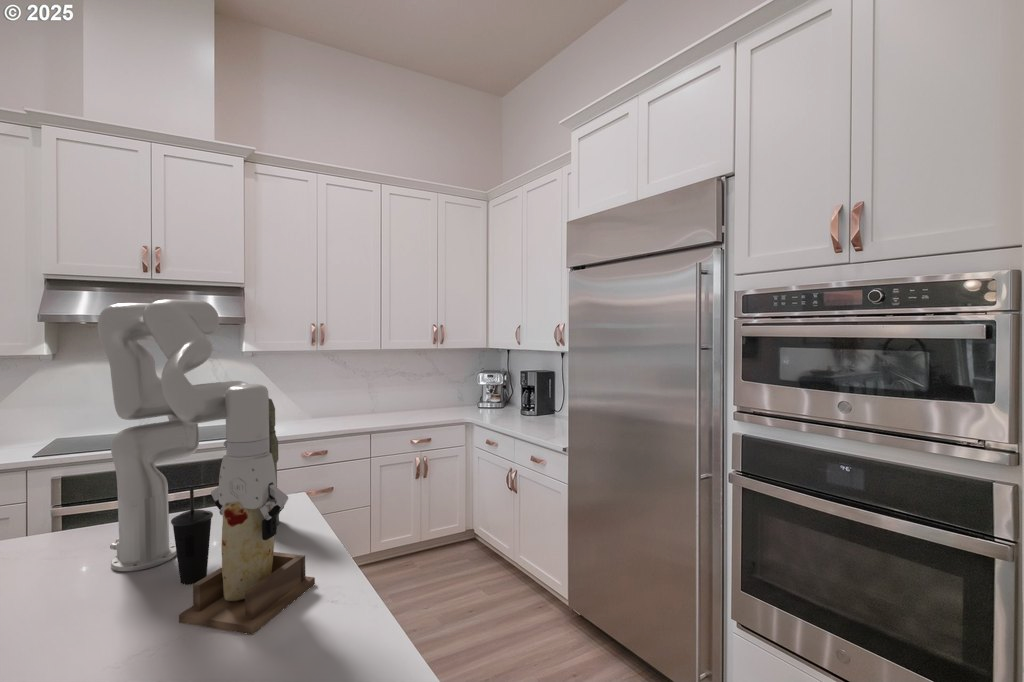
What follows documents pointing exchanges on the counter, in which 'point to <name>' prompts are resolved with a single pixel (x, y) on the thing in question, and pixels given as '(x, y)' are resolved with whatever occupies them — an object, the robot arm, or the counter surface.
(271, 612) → the dock
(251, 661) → the counter surface
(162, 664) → the counter surface
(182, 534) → the drinking cup
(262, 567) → the food model
